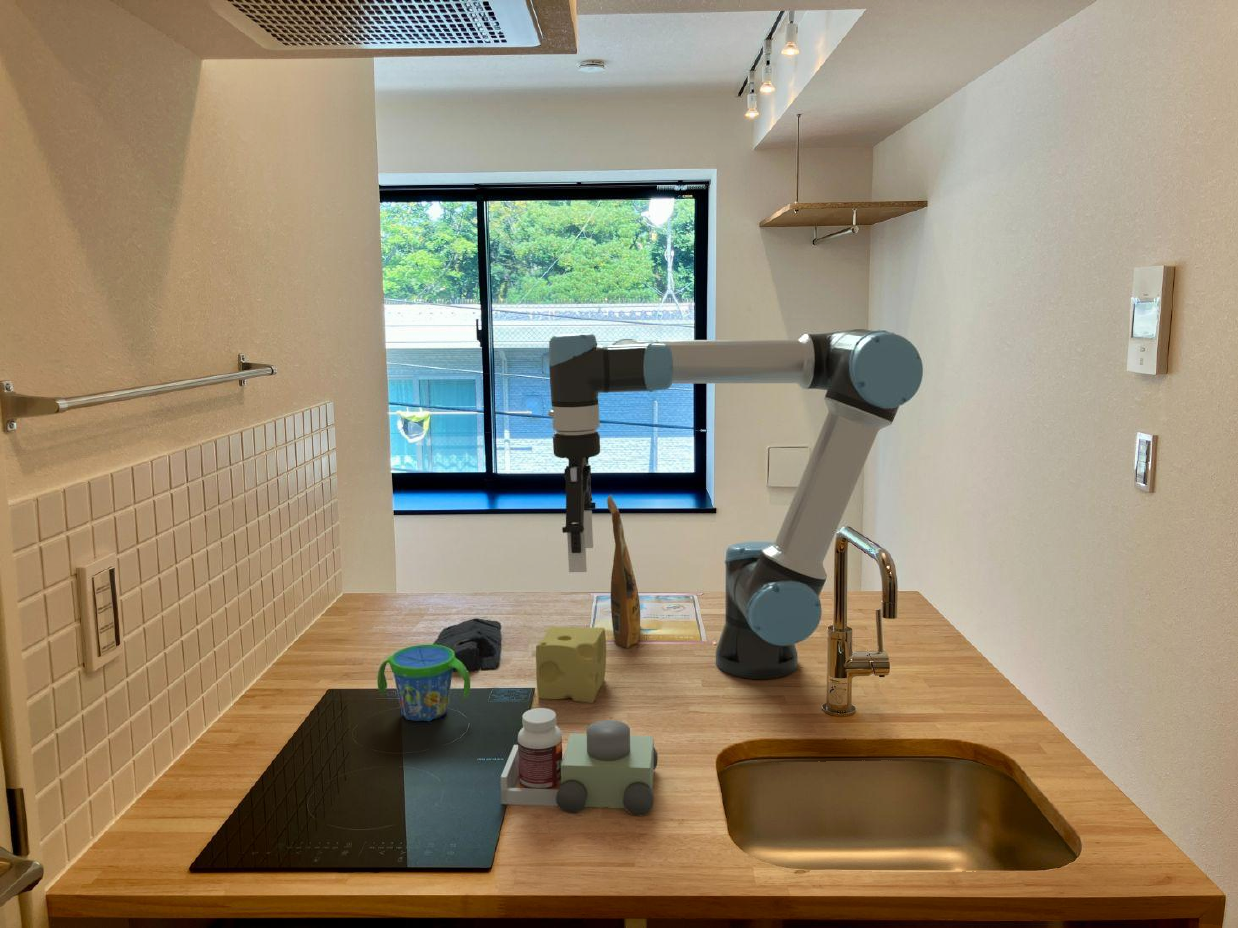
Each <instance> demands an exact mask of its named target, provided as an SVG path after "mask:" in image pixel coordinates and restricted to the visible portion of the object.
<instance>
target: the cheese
mask: <svg viewBox="0 0 1238 928" xmlns="http://www.w3.org/2000/svg"><path fill="white" fill-rule="evenodd" d="M605 629H606V628H604V627H601V626H600V627H599V626H598V627H571V626H570V627H569V626H568V627H567V626H555V625H554V626H553V625H552V626H550V627H549V628H548V629H547V631H546V633H545V634H544V636H543V637H542V638H541V640H540V641H539V642H538V643H537V644H536V648H535V666H536V667H535V668H536V670H535V671H536V673H535V675H536V678H535V679H536V687H537V688H536V689H537V697H538V699H540V700H541V699H545V700H547V699H548V700H564V699H567V698H571V699H572V701H574V702H582V703H589V704H591V703H592V704H593V703H594V702H595V701H596V697H597V695H598V692H599V690H600V689H601V687H602V685H603V684H604V681H605V678H606V667H607V640H606V630H605Z"/></svg>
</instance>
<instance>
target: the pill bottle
mask: <svg viewBox="0 0 1238 928" xmlns="http://www.w3.org/2000/svg"><path fill="white" fill-rule="evenodd" d="M521 720H522V728H521V729H520V731H519V732H518V733H517V745H518V759H519V776H518V784H519V785H518V786H519V788H531V789H559V786H560V785H561V763H562V759H563V734H562V730H561V729H560V728H559V727H558V726H557V714H556V712H555V711H554V710H553V709H550V708H545V707H544V708H543V707H538V708H532V709H529V710H526V711H525V712H524V713H523V714H522V719H521Z"/></svg>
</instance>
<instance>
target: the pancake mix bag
mask: <svg viewBox="0 0 1238 928" xmlns="http://www.w3.org/2000/svg"><path fill="white" fill-rule="evenodd" d="M612 494H613V493H611V494H610V495H609V496H608V497H607V499H606V504H607V508H608V510H609V512H610V513H611V520H612V532H613V538H614V545H615V546H614V547H615V548H614V554H613V561H612V562H613V565H612V570H611V576H610V580H611V581H610V609H611V610H610V611H611V613H610V615H611V624H612V630H613V631H612V632H613V633H612V634H613V638H614V644H616V645H617V646H620V647H623V648H627V649H629V647H630V646H634V645H636V644H638V642H639V639H640V633H641V630H640V629H641V603H640V596H639V590H638V586H637V581H636V576H635V573H634V570H633V565H632V561H631V558H630V553H629V548H628V545H627V542H626V539H625V531H624V526H623V525H624V524H623V521H622V518H621V514H620V511H619V508H618V506H617V504H616V503H615V501H614V499H613V497H612V496H613V495H612Z"/></svg>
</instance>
